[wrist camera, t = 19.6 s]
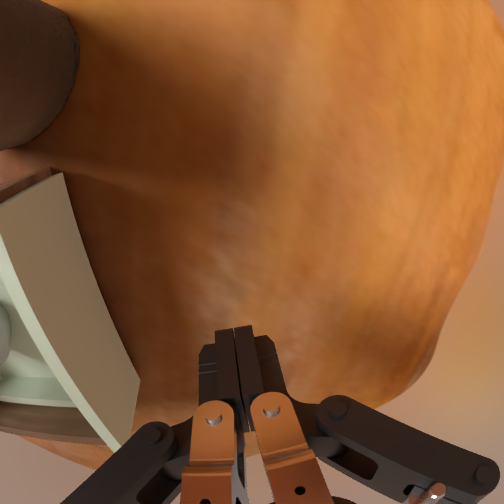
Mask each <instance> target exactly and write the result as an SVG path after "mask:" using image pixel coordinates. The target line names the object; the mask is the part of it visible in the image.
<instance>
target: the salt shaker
mask: <svg viewBox="0 0 504 504" xmlns="http://www.w3.org/2000/svg"><path fill="white" fill-rule="evenodd" d="M10 341H11V325H10V317H9V314H8V312H7V311H6V310H5V309H4V308H3V307H2V306H1V304H0V366H1V365H2V364H3V363H4V362H5V361H6V360H7V358H8V356H9V351H10Z"/></svg>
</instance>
